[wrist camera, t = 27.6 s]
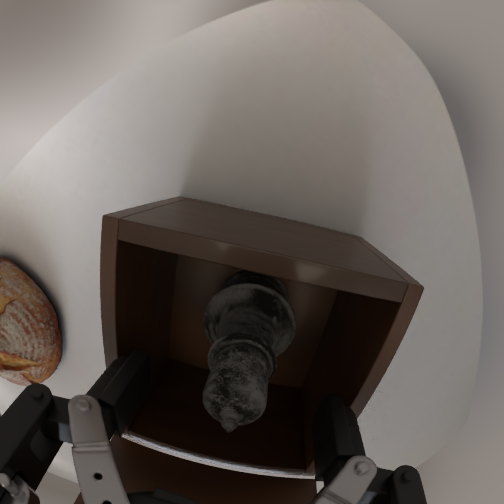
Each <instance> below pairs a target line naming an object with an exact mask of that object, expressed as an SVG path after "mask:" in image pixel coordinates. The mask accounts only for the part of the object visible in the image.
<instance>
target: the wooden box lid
mask: <svg viewBox="0 0 504 504" xmlns="http://www.w3.org/2000/svg"><path fill="white" fill-rule="evenodd" d="M110 444H111V448H112V451H113V454H114V457H115V460H116V464H117V467H118V469H119V472H120V475H121V478H122V481H123V483H124V486H125V488H126V491H127V493H129V492H135V491H152V492H154V490H155V487H159V488H162V489H165V490H168V491H171V492H174V493H178V494H181V495H184V496H186V497H188V498H190V499H192V500H194V501H196V502H198V503H200V504H308V503H309V502H310V501H311V500H312V499H313V498H314V497H315V496H316V495H317V488H316V481H315V479H300V478H285V477H274V476H266V475H258V474H251V473H244V472H238V471H233V470H228V469H223V468H218V467H213V466H209V465H205V464H201V463H197V462H193V461H189V460H185V459H182V458H179V457H175V456H172V455H169V454H166V453H162V452H159V451H157V450H154V449H151V448H148V447H145V446H143V445H140V444H137V443H135V442H132V441H130V440H127V439H125V438H122V437H121V438H120V437H118V436H116V435H114V436H113V437H112V439H111V441H110ZM74 504H85V503H84V500H83V497H82V493H81V492H80V494H79V495H78V497H77V499H76V501H75V503H74Z"/></svg>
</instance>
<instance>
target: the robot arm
mask: <svg viewBox="0 0 504 504" xmlns="http://www.w3.org/2000/svg"><path fill="white" fill-rule="evenodd" d="M150 383H151V354H148V353H145V352H143V351H140V350H137V349H135V350H134V351H133V352H132V353H131V355H130V356H129V357H125V356H121V357H119V358H117V359H115V360H113V362H112V363H111V364H110V365H109V367H108V369H106V370H105V371H104V373H103V374H102V375H101V376H100V378H99V379H98V380H97V381H96V382H95V384H94V385H93V386H92V387H91V389H90V390H89V391H88V392H87V394H86V395H77V396H75V397H73V398H72V399H66V398H62V397H57V396H53V395H52V393H51V391H50V389H49V388H48V387H47V386H45V385H43V384H39V383H35V384H31V385H29V386H27V387H26V388H25V389H24V391H23V392H22V393H21V394H20V395H19V396H18V397H17V399H16V400H15V401H14V402H13V403H12V404H11V406H10V407H9V408H8V409H7V410H6V411H5V413H4V414H3V415H2V416H1V418H0V504H40V500H39V497H38V495H37V494H36V492H35V491H36V489H37V487H38V485H39V484H40V482H41V480H42V478H43V476H44V475H45V473H46V471H47V469H48V468H49V466H50V464H51V462H52V461H53V459H54V457H55V456H56V454H57V452H58V451H59V449H60V447H61V446H62V444H63V442H68V443H72V444H73V447H72V456H73V461H74V465H75V470H76V474H77V478H78V482H79V486H80V490H81V493H82V497H83V500H84V503H85V504H200V503H198V502H196V501H194V500H192V499H190V498H188V497H186V496H184V495H181V494H178V493H174V492H171V491H168V490H165V489H162V488H159V487H155V490H154V492H152V491H135V492H129V493H127V491H126V488H125V486H124V483H123V481H122V478H121V475H120V472H119V469H118V467H117V464H116V460H115V457H114V454H113V451H112V448H111V444H110V439H111V437H112V436H113V435H116V436H118V437H120V438H121V436H122V434H123V433H124V431H125V429H126V427H127V426H128V424H129V422H130V420H131V419H132V417H133V415H134V413H135V412H136V410H137V408H138V406H139V405H140V403H141V401H142V399H143V398H144V396H145V394H146V392H147V391H148V389H149V386H150ZM357 423H358V422H357V418H356V414H355V413H354V412H353V410H352V409H351V408H350V406H344V402H343V398H342V396H341V395H334V394H325V395H324V396H323V398H322V400H321V402H320V403H319V405H318V407H317V409H316V411H315V413H314V415H313V418H312V422H311V429H312V441H313V453H314V467H315V481H324V487H323V488H322V489H321V490H320V491H319V492H318V494H317V495H316V496H315V497H314V498H313V499H312V500H311V501H310V502H309V503H308V504H427V502H426V498H425V494H424V490H423V486H422V482H421V479H420V475H419V473H418V471H417V470H416V469H415V468H413V467H411V466H408V465H403V466H400V467H398V468H397V469H396V470H395V471H391V470H386V469H382V468H378V467H376V464H375V463H374V462H373V460H371V459H370V458H368V457H366V455H365V450H364V446H363V442H362V438H361V434H360V431H359V426H358V424H357Z"/></svg>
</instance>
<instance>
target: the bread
mask: <svg viewBox="0 0 504 504" xmlns="http://www.w3.org/2000/svg"><path fill="white" fill-rule="evenodd" d="M61 343H62V341H61V336H60V331H59V328H58V320H57V316H56V313H55V310H54V308H53V306H52V304H51V303H50V301H49V300H48V298H47V297H46V295H45V294H44V293H43V291H42V290H41V289H40V287H39V286H38V285H37V284H36V283H35V282H34V281H33V280H32V278H31V277H30V276H28V275H27V274H26V273H25V272H24V271H22V270H21V269H20V268H19V267H18V266H16V265H15V264H14V263H13V262H12V261H11V260H8V259H6V258H4V257H0V376H1V377H3V378H5V379H7V380H8V381H10V382H12V383H15V384H17V385H22V386H29V385H31V384H35V383H42V382H43V381H45V380H46V379H47V378H49V377H50V376H51V375H52V374H53V373H54V372H55V370H56V369H57V366H58V364H59V363H60V361H61V356H62V345H61Z"/></svg>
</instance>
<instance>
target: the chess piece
mask: <svg viewBox="0 0 504 504" xmlns="http://www.w3.org/2000/svg"><path fill="white" fill-rule="evenodd" d="M203 326H204V330H205V333H206V336H207V338H208V339H209V341H210V343H211V344H212V346H211V347H210V350H209V353H208V365H209V368H210V373H209V376H208V379H207V382H206V385H205V388H204V391H203V404H204V406H205V408H206V410H207V411H208V413H209V414H210V415H211V416H212V417H213V418H215V419H216V420H218V421H219V422H221V425H222V427H223V428H224V429H225V430H226V432H228V433H229V432H231V431H233V430H234V429H236V428H237V427H238V426H242V425H247V424H250V423H252V422H254V421H255V420H257V419H258V418H259V417H260V416H261V415H262V414H263V412H264V410H265V408H266V404H267V392H268V381H269V380H270V379H271V378H272V377H273V375H274V373H275V371H276V366H277V361H276V357H277V356H278V355H280V354H281V353H283V352H284V351H285V350H286V349H287V348H288V346H289V345H290V344H291V342H292V340H293V338H294V335H295V329H296V321H295V314H294V312H293V310H292V308H291V306H290V304H289V296H288V292H287V290H286V288H285V286H284V285H283V283H282V282H281V281H280V280H279V279H278V278H277V277H274V276H270V275H265V274H261V273H256V272H252V271H247V270H242V271H239V272H237V273H235V274H233V275H232V276H230V277H229V278H228V279H227V280H226V281H225V282H224V284H223V285H222V287H221V289H220V291H219V292H218V293H217V294H215V295H214V296H213V297H212V299H211V300H210V301H209V303H208V304H207V306H206V309H205V312H204V316H203Z"/></svg>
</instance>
